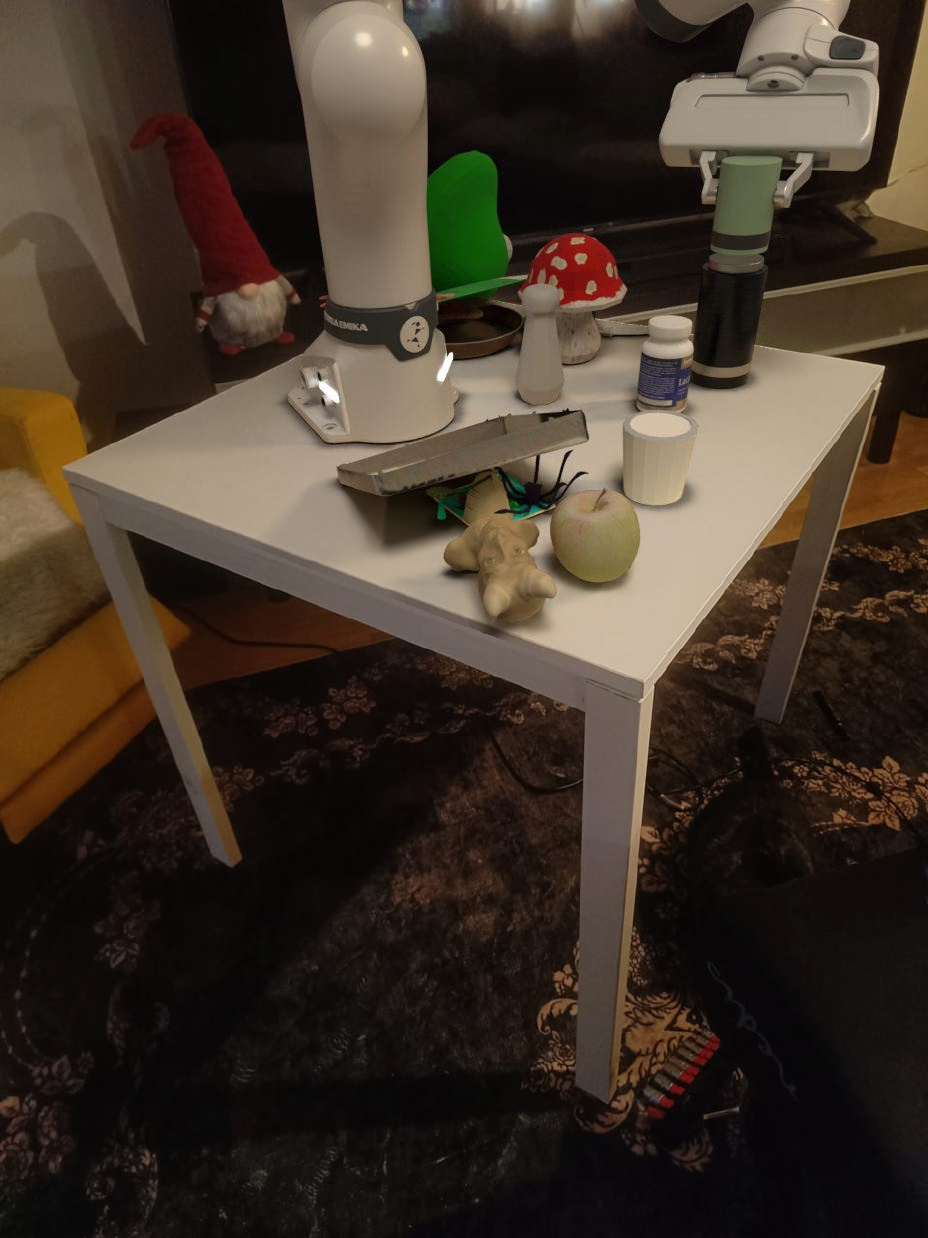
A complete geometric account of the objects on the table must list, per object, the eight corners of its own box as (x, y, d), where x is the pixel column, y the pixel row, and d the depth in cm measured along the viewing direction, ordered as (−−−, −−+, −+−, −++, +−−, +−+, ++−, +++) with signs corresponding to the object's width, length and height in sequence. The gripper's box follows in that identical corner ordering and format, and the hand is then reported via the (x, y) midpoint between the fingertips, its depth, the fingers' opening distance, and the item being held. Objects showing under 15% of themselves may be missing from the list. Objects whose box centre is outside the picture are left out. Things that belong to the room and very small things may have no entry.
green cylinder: (698, 249, 82) (708, 161, 77) (732, 238, 85) (744, 152, 80) (745, 258, 79) (759, 166, 74) (779, 247, 81) (795, 157, 76)
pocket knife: (559, 332, 113) (559, 325, 114) (559, 338, 113) (559, 331, 115) (658, 331, 111) (656, 324, 113) (657, 336, 112) (655, 329, 113)
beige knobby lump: (441, 570, 69) (471, 657, 59) (436, 497, 65) (469, 578, 55) (532, 556, 70) (576, 640, 61) (534, 484, 66) (582, 561, 56)
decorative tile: (379, 511, 64) (598, 441, 69) (367, 474, 63) (590, 405, 68) (341, 493, 83) (515, 439, 87) (332, 464, 82) (508, 410, 86)
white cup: (674, 515, 74) (683, 446, 70) (605, 498, 77) (610, 431, 73) (699, 483, 79) (709, 416, 74) (633, 468, 82) (639, 403, 77)
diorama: (409, 507, 77) (404, 455, 74) (534, 463, 83) (535, 413, 80) (473, 560, 70) (471, 504, 66) (606, 507, 76) (610, 453, 72)
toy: (408, 285, 138) (468, 348, 138) (332, 296, 118) (403, 369, 118) (502, 149, 123) (570, 220, 123) (434, 134, 103) (515, 218, 103)
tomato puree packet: (435, 307, 98) (560, 275, 107) (433, 297, 98) (558, 266, 106) (378, 311, 110) (494, 282, 119) (376, 303, 110) (492, 274, 119)
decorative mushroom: (498, 364, 106) (496, 242, 96) (549, 332, 115) (551, 217, 105) (593, 382, 99) (601, 253, 90) (639, 347, 108) (650, 226, 99)
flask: (675, 377, 100) (690, 258, 91) (712, 362, 103) (729, 246, 95) (724, 393, 95) (744, 270, 87) (761, 377, 99) (783, 256, 90)
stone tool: (482, 304, 105) (371, 307, 107) (482, 328, 106) (374, 331, 109) (495, 290, 116) (395, 292, 119) (495, 311, 118) (397, 314, 120)
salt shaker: (573, 396, 97) (578, 284, 89) (543, 412, 94) (545, 297, 86) (535, 385, 100) (536, 276, 92) (506, 400, 97) (504, 288, 89)
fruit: (654, 563, 68) (664, 479, 63) (610, 606, 63) (618, 519, 58) (577, 536, 72) (581, 455, 67) (531, 575, 67) (531, 491, 62)
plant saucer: (492, 313, 123) (491, 293, 121) (545, 348, 110) (545, 326, 108) (383, 336, 118) (380, 315, 116) (426, 375, 105) (424, 352, 103)
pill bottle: (686, 419, 90) (697, 330, 84) (634, 417, 91) (642, 329, 85) (685, 398, 95) (696, 312, 88) (636, 397, 96) (644, 312, 90)
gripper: (675, 50, 80) (637, 177, 80) (897, 43, 73) (857, 184, 72) (681, 97, 86) (646, 216, 86) (889, 95, 78) (851, 227, 78)
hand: (744, 202), depth 79 cm, fingers closed on green cylinder, 5 cm apart
